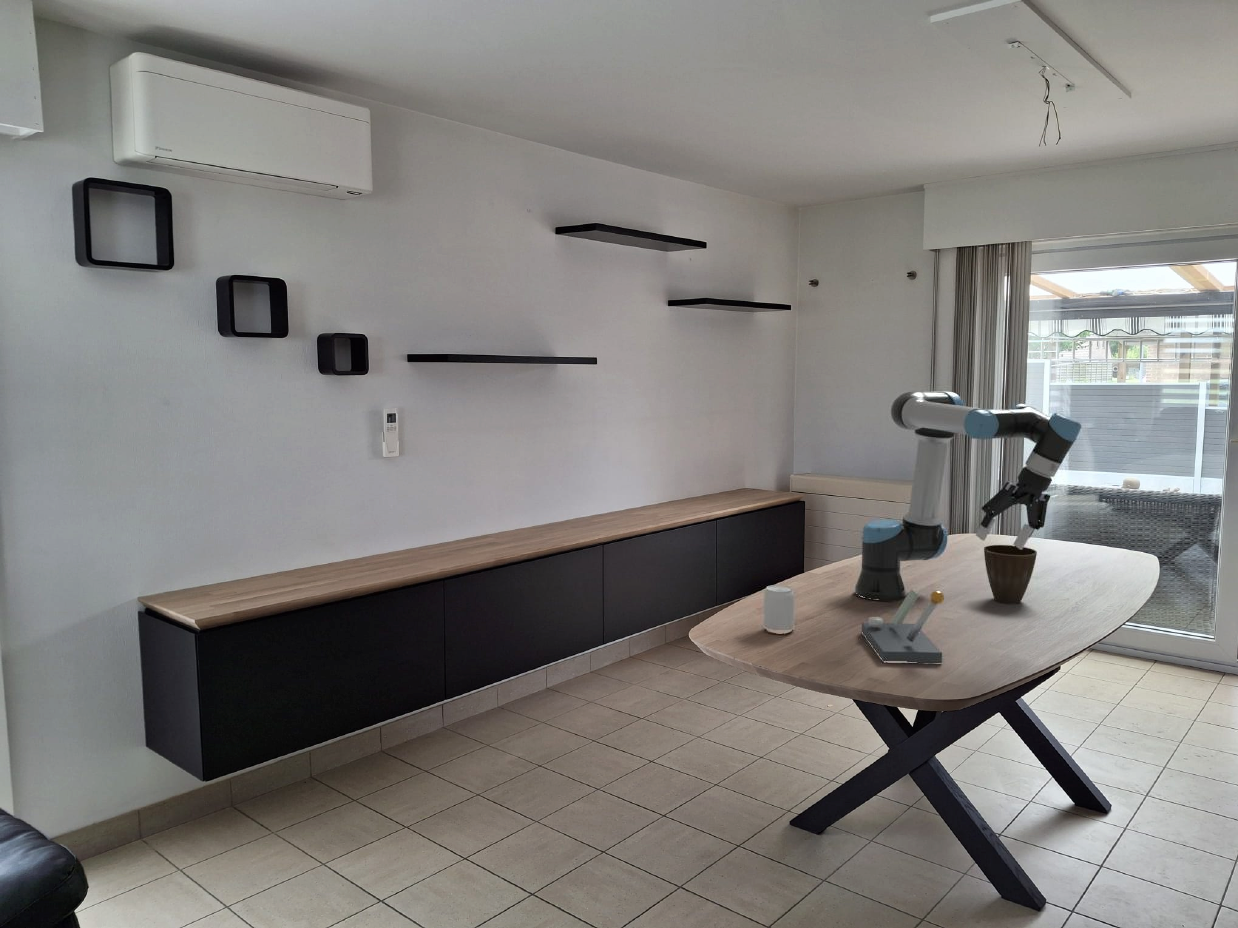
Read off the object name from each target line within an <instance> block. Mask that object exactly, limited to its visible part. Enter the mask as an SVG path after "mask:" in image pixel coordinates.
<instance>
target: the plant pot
mask: <svg viewBox="0 0 1238 928" xmlns="http://www.w3.org/2000/svg"><path fill="white" fill-rule="evenodd" d="M983 553H984V554H983V555H984V556H983V557H984V564H985V570H986V575H987V580H988V582H989V587H990V589H991V592H992V597H993V598H994V600H995V601H996V602H998V603H1003V604H1011V605H1012V604H1020V603H1021V601H1022V600H1023V598H1024V595H1025V593H1026V591H1027V589H1028V587H1029V584H1030V580H1031V578H1032V575H1033V572H1034V568H1035V563H1036V559H1037V555H1038V551H1037V550H1035V549H1034V548H1029V547H1026V546H1024V547H1023V549H1022V550H1021V549H1019V548H1017V547H1016V546H1015V545H1013V544H1012V545H1009V544H993V545H986V546H984V547H983Z"/></svg>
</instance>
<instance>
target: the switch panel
mask: <svg viewBox="0 0 1238 928" xmlns="http://www.w3.org/2000/svg"><path fill="white" fill-rule="evenodd" d="M915 624H916V623H903V622H902V623H901V625H900V626H899V627H898V626H896V625H895V624H894V623H893V622H886V623H885V622H883V627H871V626H869V622H861V633H862V632H863V634H864V635H865V636H866V638H867V640H868V641H869V642H870V643H871V645H872V646H873V648H874V649H875V650H876V652H877V653H878V654H879V656H880V657H881V658H882V660H883V661H907V662H917V663H942V664H943V652H942V650H940V649H939V648H938V646H936V644H935V643H934V642H933V641H932V640H931V639H930V638H929V637H928V636H927V635H926V634H925V633H924V632H923V630H922V629H921V630H920V632H919V633H918V635H917V637H916V638H915V640H914V641H913V642H911V641H909V640H908V639H906V638H907V636H908V635H909V633H910V631H911V630H912V628H913V627H914V625H915ZM867 640H866V641H867Z"/></svg>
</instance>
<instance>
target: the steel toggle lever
mask: <svg viewBox="0 0 1238 928" xmlns="http://www.w3.org/2000/svg"><path fill="white" fill-rule="evenodd" d="M944 595H945V594H944V593H942V592H941V591H939V590H934V591H932V593H931V594H930V596H929V597H930V598H929V599H930V601H929V603H928V604H927V605H926V607H925V608H924V610H923V611H922V613H921V614H920V616H919V617H918V619H917V621H916V622H915V623H914V624H915V625H914V627H913V628H912V630H911V631H910V633H909V635H908V636H907V638H906V639H908V640H909V641H911V642H913V641H914V640H915V638H916V637H917V635H918V633H919V632H920V630H921V631H922V629H923V627H924V625H925V624H926V623H927V621H928V620H929V618H930V616H931V615H932V613H933V612H934V610H935V609H936V607H937V606H938V605H939V604H942V603H943V602H944V600H945V596H944Z"/></svg>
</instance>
